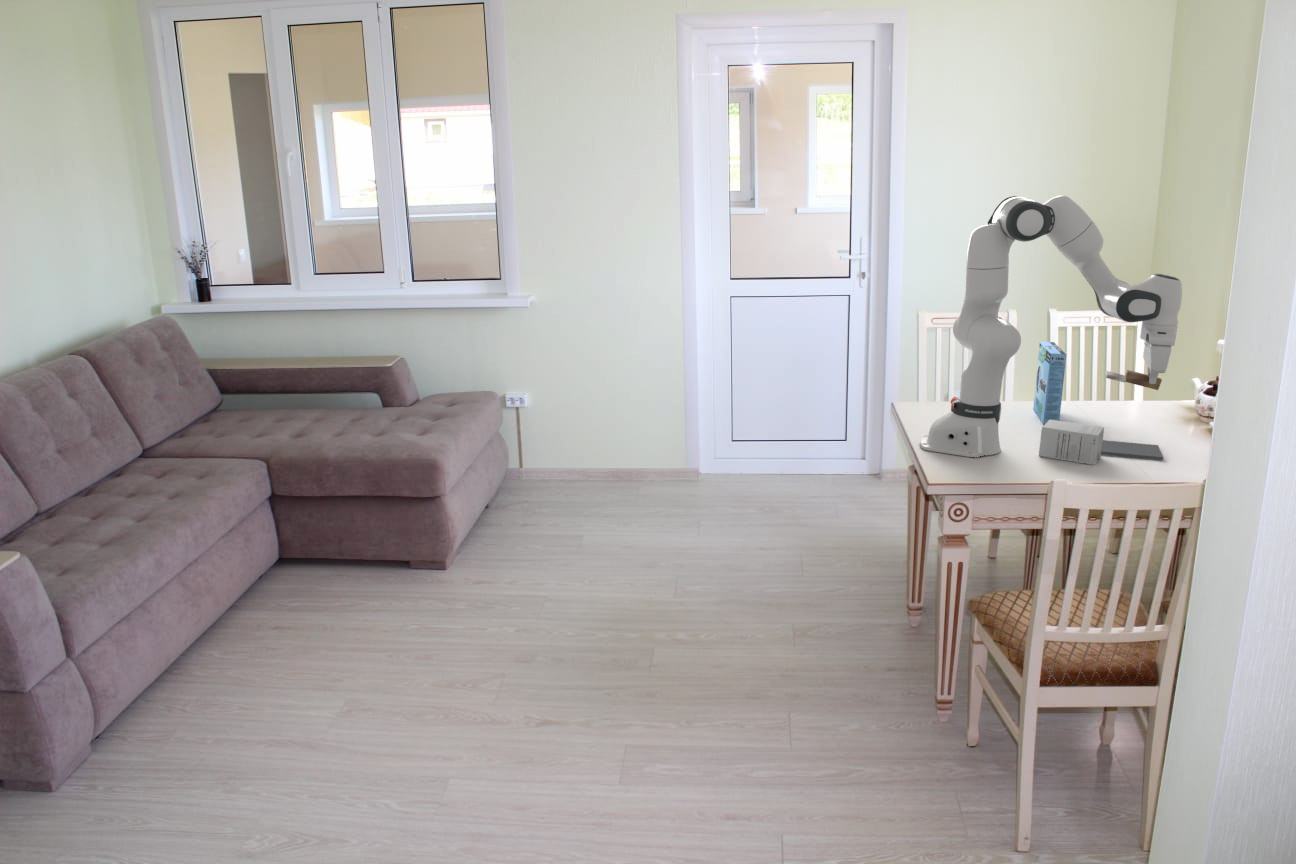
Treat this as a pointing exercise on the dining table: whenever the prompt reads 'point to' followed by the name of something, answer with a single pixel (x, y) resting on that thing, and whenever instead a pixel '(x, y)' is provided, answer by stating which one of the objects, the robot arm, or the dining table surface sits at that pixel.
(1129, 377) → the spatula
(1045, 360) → the gum box
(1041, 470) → the dining table surface
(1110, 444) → the tool mat
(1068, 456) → the supplement box
